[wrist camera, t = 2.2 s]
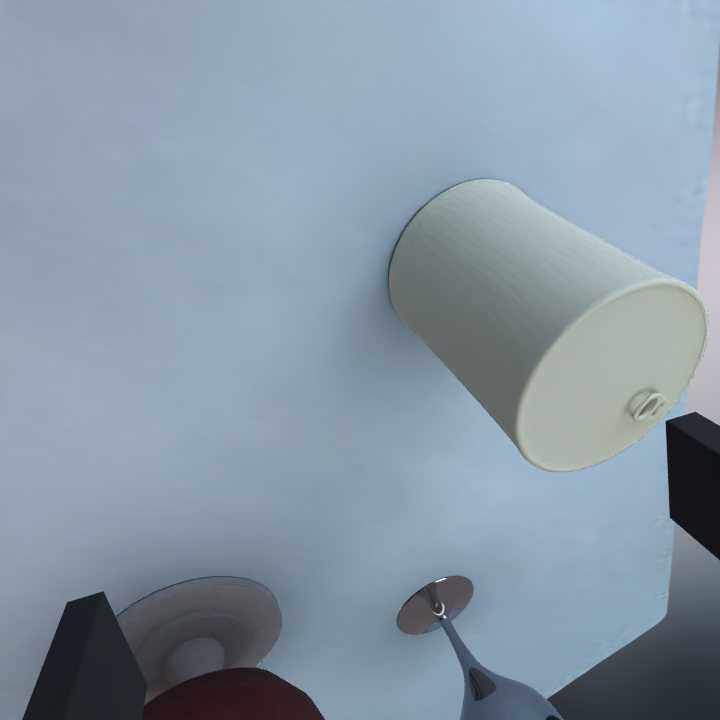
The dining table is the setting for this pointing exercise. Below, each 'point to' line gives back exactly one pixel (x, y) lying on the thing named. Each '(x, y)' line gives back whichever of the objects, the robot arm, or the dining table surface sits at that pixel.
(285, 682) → the mate gourd
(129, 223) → the dining table surface
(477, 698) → the wine glass
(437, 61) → the dining table surface
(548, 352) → the can
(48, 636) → the dining table surface
